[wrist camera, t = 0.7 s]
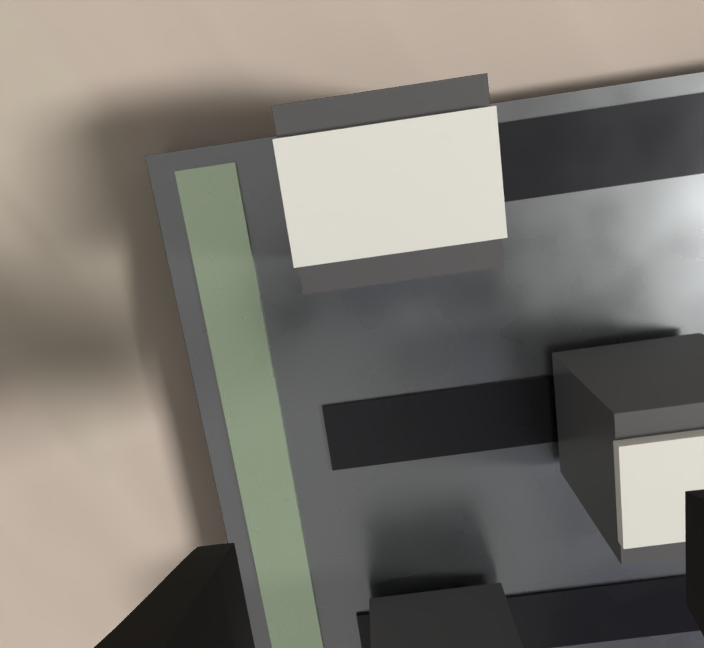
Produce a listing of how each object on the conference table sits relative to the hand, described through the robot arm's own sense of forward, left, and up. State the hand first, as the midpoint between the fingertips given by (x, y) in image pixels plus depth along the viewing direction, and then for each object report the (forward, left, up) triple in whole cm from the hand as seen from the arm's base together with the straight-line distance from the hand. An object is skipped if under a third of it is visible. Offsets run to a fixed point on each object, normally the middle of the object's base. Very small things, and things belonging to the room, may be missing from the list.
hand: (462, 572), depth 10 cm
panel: (-2, -6, -10) cm, 12 cm away
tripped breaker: (-1, -6, -8) cm, 10 cm away
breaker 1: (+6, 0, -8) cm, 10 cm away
